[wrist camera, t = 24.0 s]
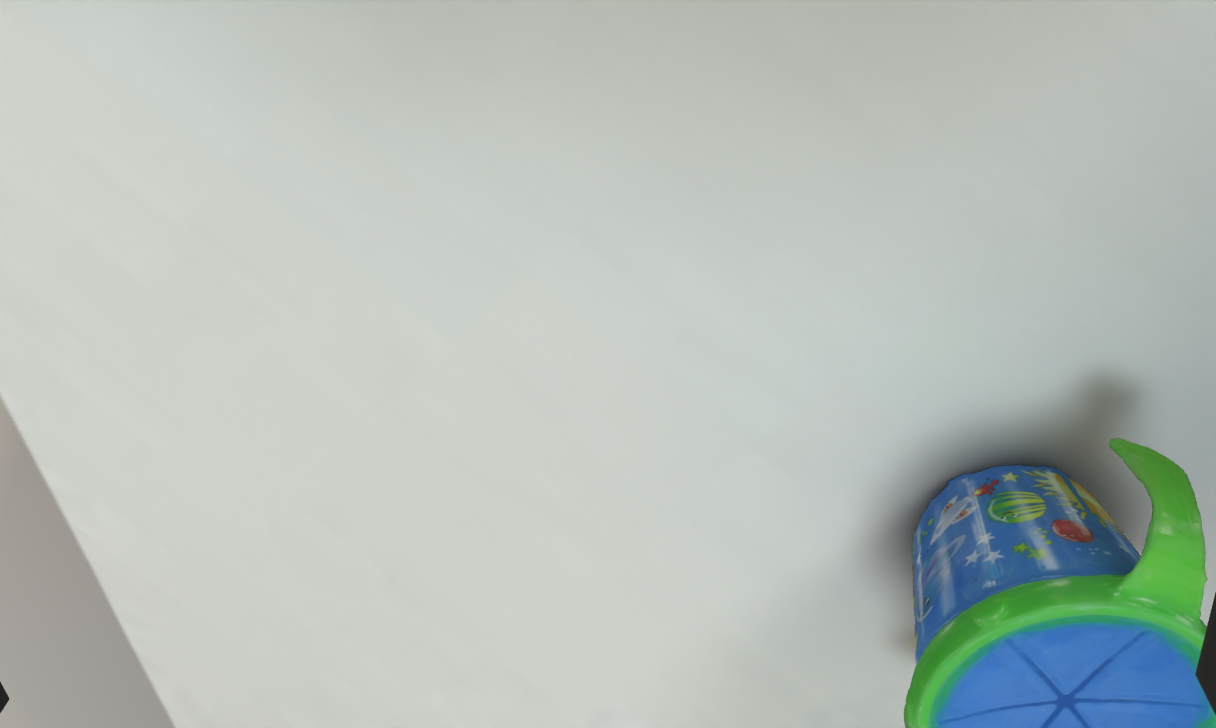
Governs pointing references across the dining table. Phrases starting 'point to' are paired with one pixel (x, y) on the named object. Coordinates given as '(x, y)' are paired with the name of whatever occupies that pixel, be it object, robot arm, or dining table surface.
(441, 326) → the dining table surface
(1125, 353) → the dining table surface
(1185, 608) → the sippy cup
